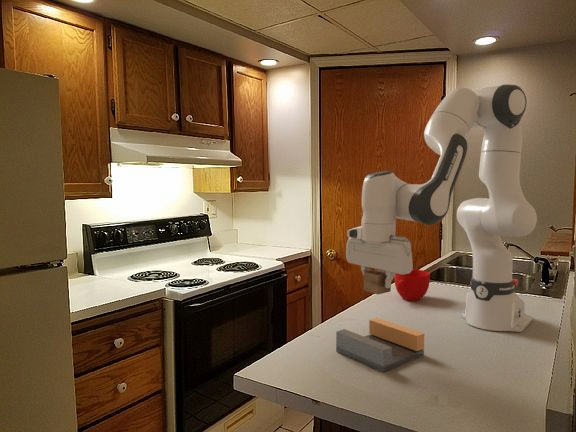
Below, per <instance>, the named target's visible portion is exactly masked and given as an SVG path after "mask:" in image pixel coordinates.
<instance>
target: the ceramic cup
mask: <svg viewBox="0 0 576 432" xmlns="http://www.w3.org/2000/svg"><path fill="white" fill-rule="evenodd" d="M430 279H431V273H430V272H429V271H426V270H423V269H417V268H416V269H415V268H413V270H412V271H411V272H410V273H409V274H404V275H401V274H397V273H395V276H394V278H393V280H394V287H395V289H396V291H397V293H398V295H399V297H401V299H402V300H404V301H407V302H418V301H421V299H423V297H425V295H426V293H427V292H428V290H429V287H430V282H431V281H430Z"/></svg>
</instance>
